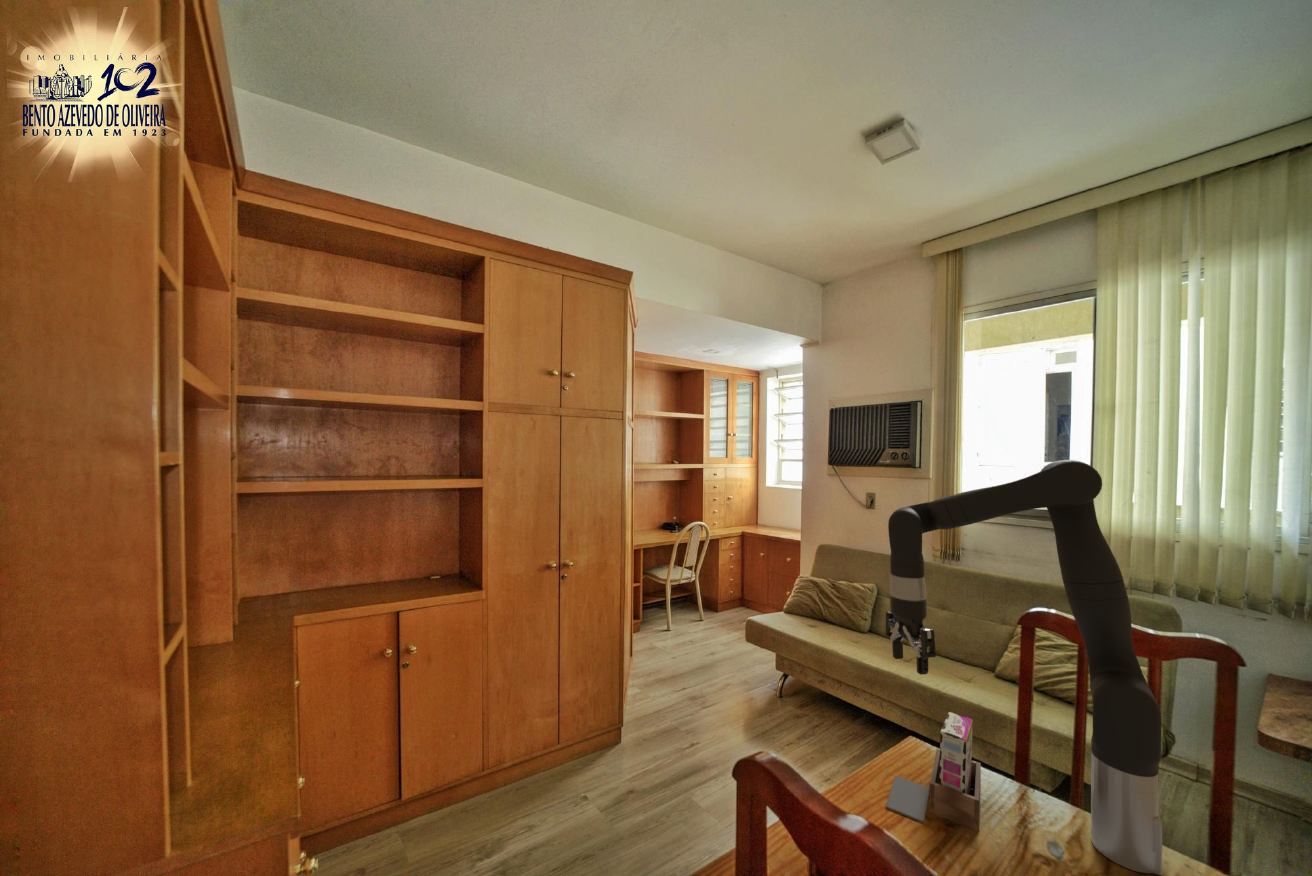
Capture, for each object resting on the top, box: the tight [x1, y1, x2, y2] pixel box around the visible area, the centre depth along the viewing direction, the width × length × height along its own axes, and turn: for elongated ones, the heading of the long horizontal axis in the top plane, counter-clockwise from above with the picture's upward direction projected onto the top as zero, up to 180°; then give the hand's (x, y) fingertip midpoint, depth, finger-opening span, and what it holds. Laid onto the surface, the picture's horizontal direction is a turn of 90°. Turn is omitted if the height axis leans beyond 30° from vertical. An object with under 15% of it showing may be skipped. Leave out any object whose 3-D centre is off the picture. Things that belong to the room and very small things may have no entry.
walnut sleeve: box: [929, 748, 982, 832], centre depth 105 cm, size 9×15×6 cm, turn 145°
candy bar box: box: [939, 711, 974, 795], centre depth 105 cm, size 11×5×16 cm, turn 141°
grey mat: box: [885, 775, 930, 824], centre depth 105 cm, size 7×12×1 cm, turn 145°
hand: (909, 665), depth 112 cm, fingers open, 8 cm apart
